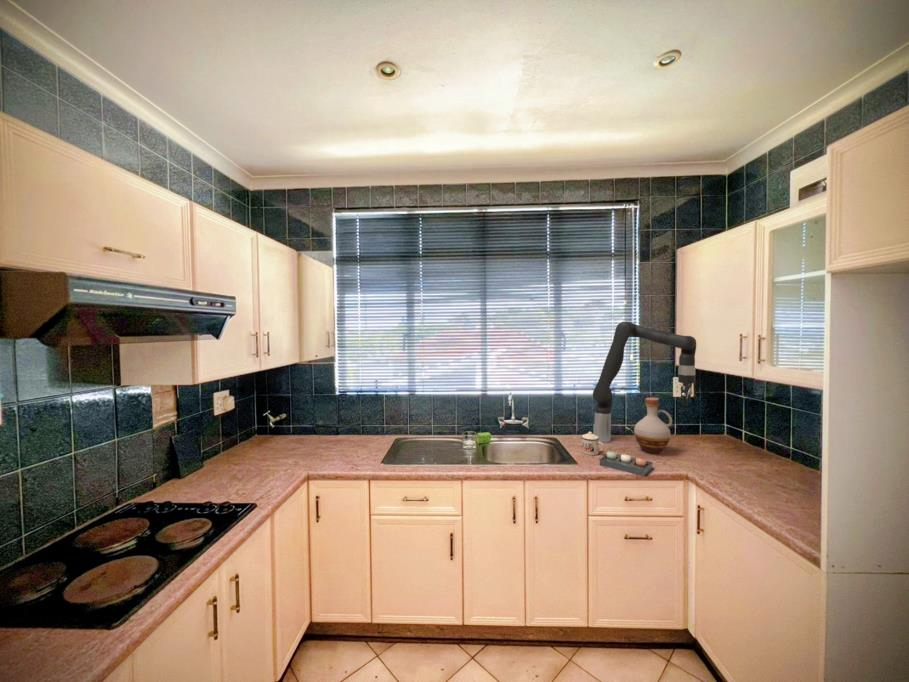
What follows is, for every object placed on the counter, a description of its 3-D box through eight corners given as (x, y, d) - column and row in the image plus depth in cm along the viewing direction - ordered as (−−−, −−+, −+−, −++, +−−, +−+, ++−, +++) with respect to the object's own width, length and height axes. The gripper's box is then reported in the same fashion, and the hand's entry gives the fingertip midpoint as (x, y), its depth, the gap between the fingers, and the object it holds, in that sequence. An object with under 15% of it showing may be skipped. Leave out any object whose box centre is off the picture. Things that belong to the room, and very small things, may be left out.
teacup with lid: (578, 452, 200) (578, 432, 199) (585, 448, 206) (585, 428, 206) (600, 458, 191) (600, 436, 191) (606, 453, 198) (606, 432, 197)
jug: (664, 446, 208) (664, 395, 207) (680, 457, 190) (680, 401, 189) (629, 445, 210) (629, 395, 209) (641, 456, 192) (642, 401, 191)
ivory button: (619, 462, 179) (619, 455, 179) (622, 460, 182) (622, 453, 182) (628, 465, 176) (628, 458, 176) (631, 462, 179) (631, 455, 179)
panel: (599, 465, 182) (599, 459, 182) (609, 458, 191) (609, 452, 191) (644, 476, 167) (644, 470, 167) (652, 468, 177) (652, 462, 176)
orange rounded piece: (634, 466, 174) (634, 459, 174) (637, 463, 177) (637, 456, 177) (644, 468, 171) (644, 461, 171) (647, 466, 174) (647, 459, 174)
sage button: (605, 459, 184) (605, 452, 184) (608, 457, 187) (608, 450, 187) (614, 461, 181) (614, 454, 181) (617, 459, 184) (617, 452, 184)
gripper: (681, 371, 196) (681, 401, 197) (675, 374, 186) (675, 405, 187) (697, 372, 191) (697, 402, 192) (692, 375, 181) (692, 407, 181)
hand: (686, 404), depth 189 cm, fingers open, 8 cm apart
